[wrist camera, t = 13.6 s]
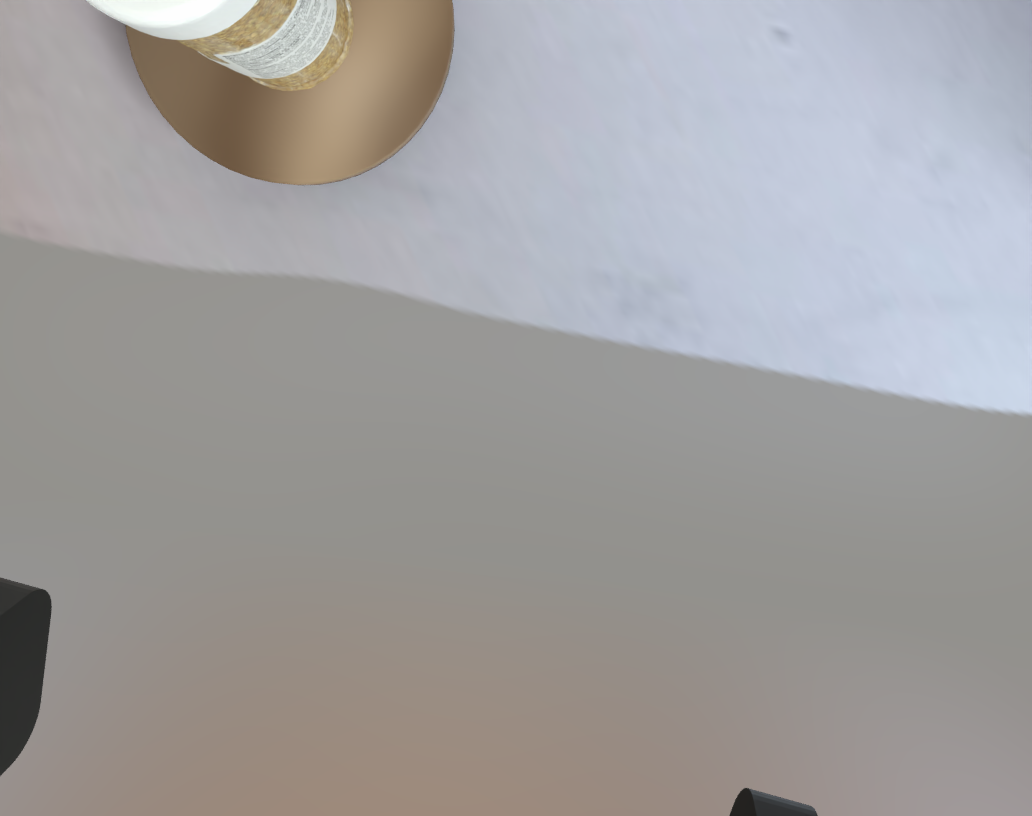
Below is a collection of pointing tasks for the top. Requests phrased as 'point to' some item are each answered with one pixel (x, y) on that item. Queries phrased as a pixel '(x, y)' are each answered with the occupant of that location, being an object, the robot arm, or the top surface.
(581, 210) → the top surface
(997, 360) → the top surface
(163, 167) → the top surface
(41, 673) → the robot arm
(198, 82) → the disc
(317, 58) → the sprinkles bottle
